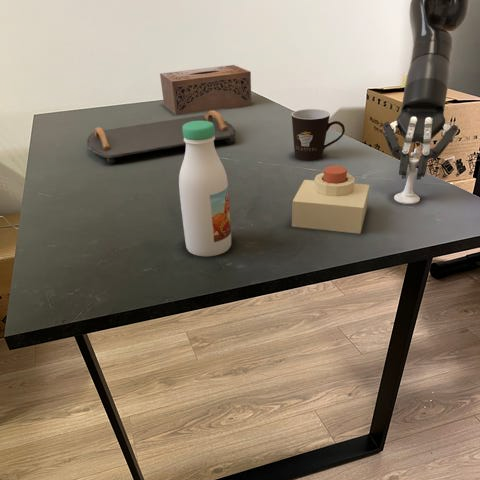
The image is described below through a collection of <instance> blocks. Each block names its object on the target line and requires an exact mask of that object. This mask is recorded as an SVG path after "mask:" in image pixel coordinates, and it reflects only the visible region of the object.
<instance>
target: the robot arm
mask: <svg viewBox="0 0 480 480" xmlns="http://www.w3.org/2000/svg"><path fill="white" fill-rule="evenodd" d="M470 1H471V0H411V1H410V4H409V11H408V13H409V14H408V15H409V25H410V30H411V37H412V51H411V58H410V64H409V68H408V71H407V75H406V79H405V84H404V87H403V88H404V91H403V97H402V103H401V109H400V113H399V114H398V116H397V118H396V120H395V121H392V122H388V121H385V122H384V123H383V126H382V134H383V137H384V139H385V141H386V144H387V147H388V150H389V151H390V153H391V156H392V157H398V158H399V159H400V162H399V168H398V175H399V176H401V179H406V178H407V175H408V174H407V170H408V168H409V159H410V156H411V154H410V151H411V148H412V145H413V143H420V144H421V146H420V149H421V150H420V156H419V160H420V161H419V164H418V165H417V170H416V171H417V175H416V178H415V179H416V180H419V181H421V178H424V177H425V176H426V173H427V169H428V161H429V160H431V159H433V160H436V159H438V158H439V157H440V156H441V155H442V153H443V152H444V151H445V150H446V148H447V147H448V146H449V145H450V143H451V142H452V141H453V140H454V138H455V137H456V134H457V132H458V130H459V126H458V125H456V124H453V125H450V124H448V123H447V122H446V118H445V115H444V114H445V106H446V100H447V94H448V89H449V83H450V66H451V60H452V54H453V49H454V48H453V47H454V40H453V36H452V35H451V32H454V31H456V30H458V29H459V28H460V27H461V26H462V25H463V24H464V23H465V21H466V19H467V17H468V14H469V11H470ZM397 130H398V131H399V132H400V134H401V136H402V137H403V139H404V143H403V146H401V145H400V143H399V142H398V139H397V137H396V134H397V133H396V132H397ZM441 131H442V133H441V139H439V141H438V142H437V143H436V145H435V146H434V147H433V148H431V141H432V140H433V138H434V137H436V136H437V135H438V134H439V133H440V132H441ZM406 180H407V179H406Z"/></svg>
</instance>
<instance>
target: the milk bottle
mask: <svg viewBox="0 0 480 480" xmlns="http://www.w3.org/2000/svg"><path fill="white" fill-rule="evenodd" d="M214 134H215V129H214V124H213V123H212V122H209V121H192V122H188V123H186V124H184V125H183V136H184V142H186V145H185V152H184V158H183V160H182V164H181V166H180V170H179V174H178V188H179V189H178V190H179V191H178V192H179V201H180V209H181V217H182V225H183V233H184V234H183V235H184V241H185V247H186V250H187V251H188V252H189V253H190V254H193V255H194V256H198V257H214V256H218V255H219V256H220V255H222V254H224V253H226V252H228V251H229V249H230V248H231V246H232V226H231V225H232V224H231V209H230V208H231V207H230V191H229V183H228V176H227V172H226V170H225V167H224V164H223V163H222V161H221V159H220V157H219V155H218V152H217V150H216V147H215V141H216V140H215V137H214Z"/></svg>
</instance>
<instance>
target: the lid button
mask: <svg viewBox="0 0 480 480" xmlns="http://www.w3.org/2000/svg"><path fill="white" fill-rule="evenodd" d="M323 173H324V176H323V181H324V182H327V183H333V184H339V183H344V182H346V177H347V174H348V169H347V167H345V166H342V165H329V166H326V167H324V169H323Z"/></svg>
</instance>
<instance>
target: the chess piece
mask: <svg viewBox="0 0 480 480" xmlns="http://www.w3.org/2000/svg"><path fill="white" fill-rule="evenodd" d="M419 155H420V156H421V151H419V148H414V150H413V152H410V156H411V157H409V162H408V168H409V169H407V174H406V175H407V179H406V183H405V186H404V189H403V191H401V192H399V193H396V194H395V195H394V196H393V199H394V200H395V202H397V203H400V204H404V205H415V204H417V203H420V200H421V197H420V196H419V195H417V194H416V193H415V192H414V181H415V180H414V178H415V176H417V171H418V170H416V169H417V168H418V165H419V161H420V158H417V156H419Z"/></svg>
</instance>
